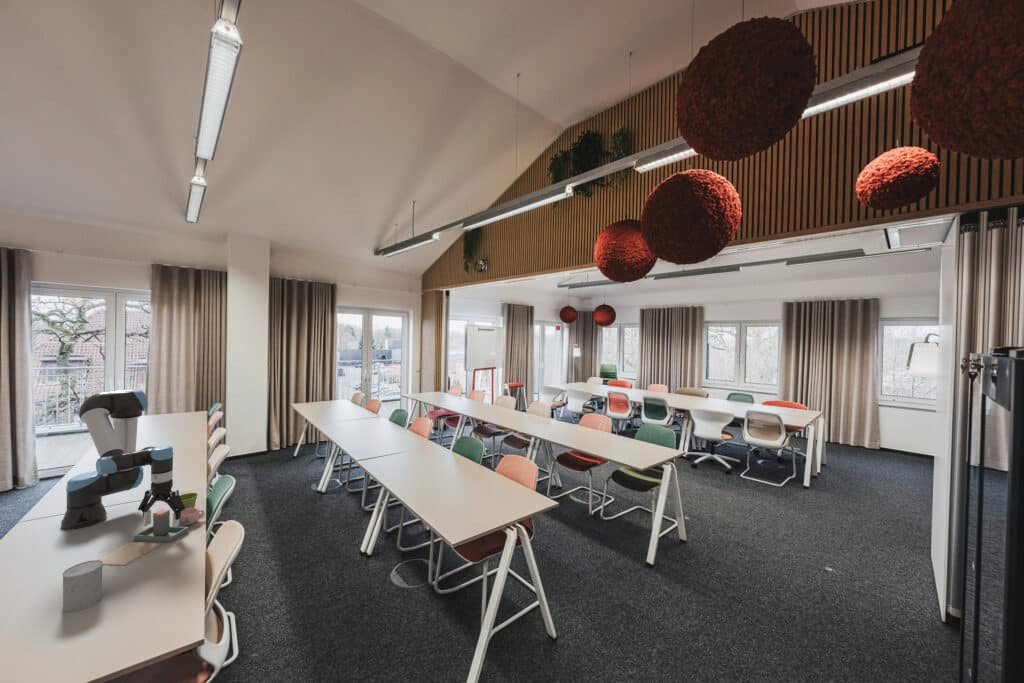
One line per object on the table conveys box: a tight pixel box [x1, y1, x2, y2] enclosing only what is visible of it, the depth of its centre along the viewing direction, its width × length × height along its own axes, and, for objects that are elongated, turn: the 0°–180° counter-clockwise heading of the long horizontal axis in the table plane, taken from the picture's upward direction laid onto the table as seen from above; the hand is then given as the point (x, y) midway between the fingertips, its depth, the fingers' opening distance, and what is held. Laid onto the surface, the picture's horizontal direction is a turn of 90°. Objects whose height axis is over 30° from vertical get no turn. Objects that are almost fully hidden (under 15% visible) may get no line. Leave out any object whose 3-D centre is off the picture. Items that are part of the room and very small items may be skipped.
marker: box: [152, 509, 171, 536], centre depth 179 cm, size 4×4×11 cm
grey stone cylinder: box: [62, 559, 104, 613], centre depth 136 cm, size 10×10×12 cm
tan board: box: [97, 541, 162, 567], centre depth 165 cm, size 14×16×1 cm
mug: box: [177, 507, 205, 527], centre depth 192 cm, size 12×10×6 cm
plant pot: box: [179, 492, 199, 509], centre depth 202 cm, size 9×9×9 cm
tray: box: [133, 525, 189, 544], centre depth 179 cm, size 17×9×2 cm, turn 89°
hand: (161, 525), depth 179 cm, fingers open, 13 cm apart
